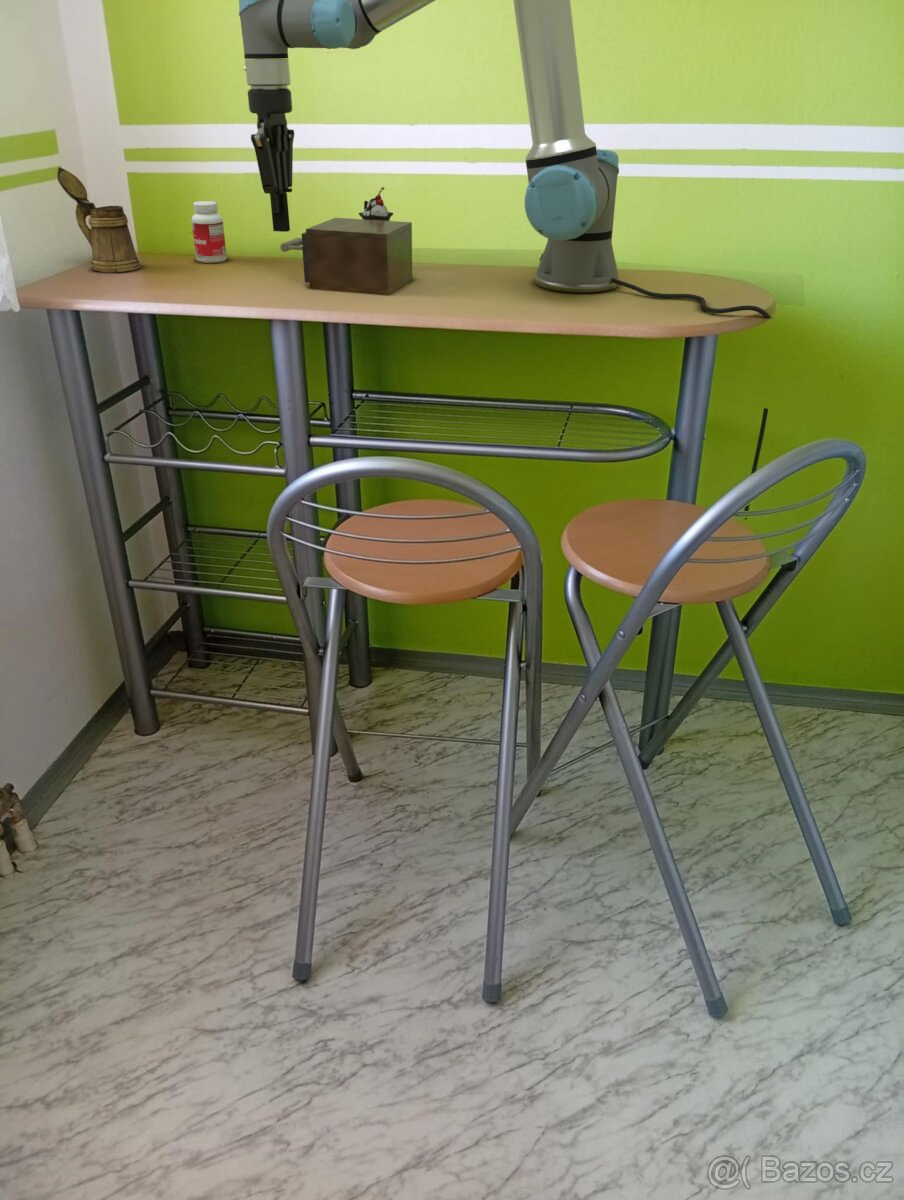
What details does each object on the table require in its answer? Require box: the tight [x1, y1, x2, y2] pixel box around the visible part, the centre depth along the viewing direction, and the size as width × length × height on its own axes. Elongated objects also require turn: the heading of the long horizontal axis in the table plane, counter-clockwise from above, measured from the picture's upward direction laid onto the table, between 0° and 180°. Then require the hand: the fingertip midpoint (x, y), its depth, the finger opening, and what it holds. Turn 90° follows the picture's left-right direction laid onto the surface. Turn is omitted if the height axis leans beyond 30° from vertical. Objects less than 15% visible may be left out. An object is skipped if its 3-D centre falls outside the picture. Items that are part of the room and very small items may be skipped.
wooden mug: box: [56, 166, 142, 274], centre depth 182 cm, size 9×14×18 cm, turn 76°
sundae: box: [358, 186, 394, 221], centre depth 185 cm, size 7×7×15 cm
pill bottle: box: [191, 200, 228, 264], centre depth 191 cm, size 6×6×11 cm
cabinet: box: [305, 217, 413, 296], centre depth 174 cm, size 15×13×10 cm
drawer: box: [279, 231, 309, 283], centre depth 175 cm, size 20×12×8 cm, turn 73°
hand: (281, 230), depth 177 cm, fingers closed
